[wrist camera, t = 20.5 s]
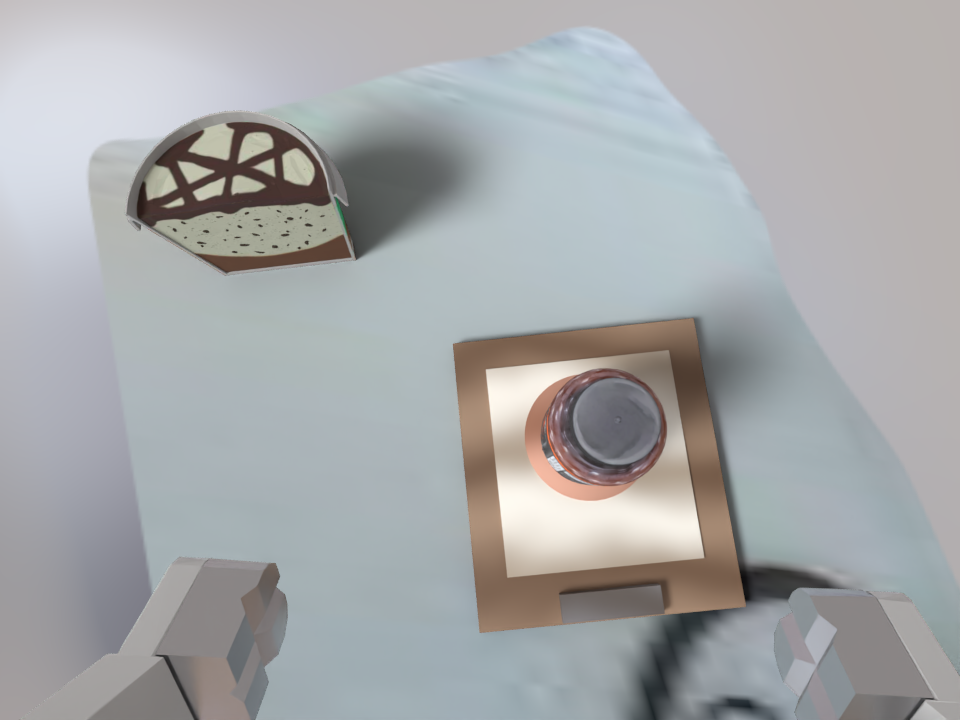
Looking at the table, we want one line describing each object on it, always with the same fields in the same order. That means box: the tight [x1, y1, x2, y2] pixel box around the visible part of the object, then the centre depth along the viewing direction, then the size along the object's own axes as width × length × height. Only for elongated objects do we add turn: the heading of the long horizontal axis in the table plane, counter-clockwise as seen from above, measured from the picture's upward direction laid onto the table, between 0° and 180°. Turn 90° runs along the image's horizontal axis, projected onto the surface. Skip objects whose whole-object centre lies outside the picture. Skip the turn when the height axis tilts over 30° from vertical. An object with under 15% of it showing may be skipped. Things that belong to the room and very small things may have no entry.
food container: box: [125, 111, 356, 276], centre depth 38 cm, size 12×6×10 cm, turn 96°
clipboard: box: [453, 318, 746, 633], centre depth 38 cm, size 18×16×2 cm
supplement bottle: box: [541, 368, 667, 486], centre depth 32 cm, size 6×6×11 cm
